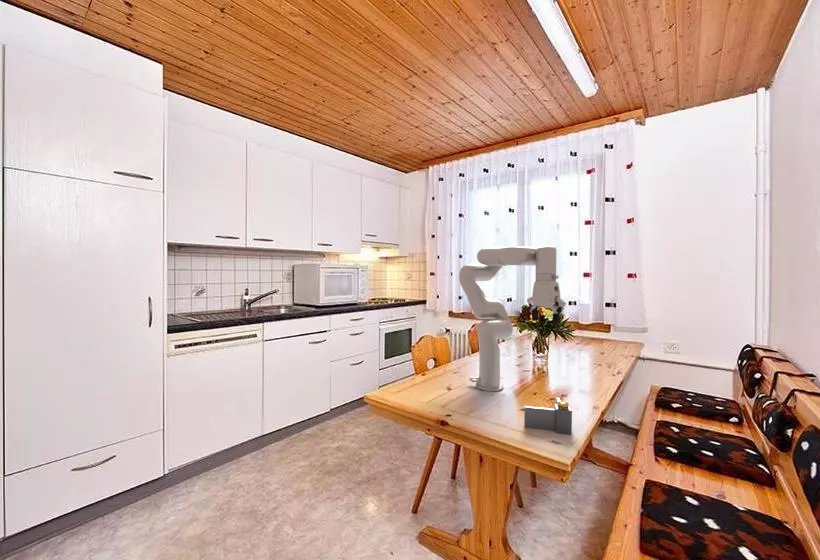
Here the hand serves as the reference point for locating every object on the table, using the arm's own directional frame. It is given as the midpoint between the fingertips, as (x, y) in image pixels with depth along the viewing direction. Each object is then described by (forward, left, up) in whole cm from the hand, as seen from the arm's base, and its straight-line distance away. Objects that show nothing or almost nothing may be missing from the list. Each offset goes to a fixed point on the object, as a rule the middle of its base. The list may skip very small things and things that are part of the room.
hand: (545, 322), depth 137 cm
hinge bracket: (-1, -13, -34) cm, 37 cm away
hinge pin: (+4, -18, -34) cm, 39 cm away
